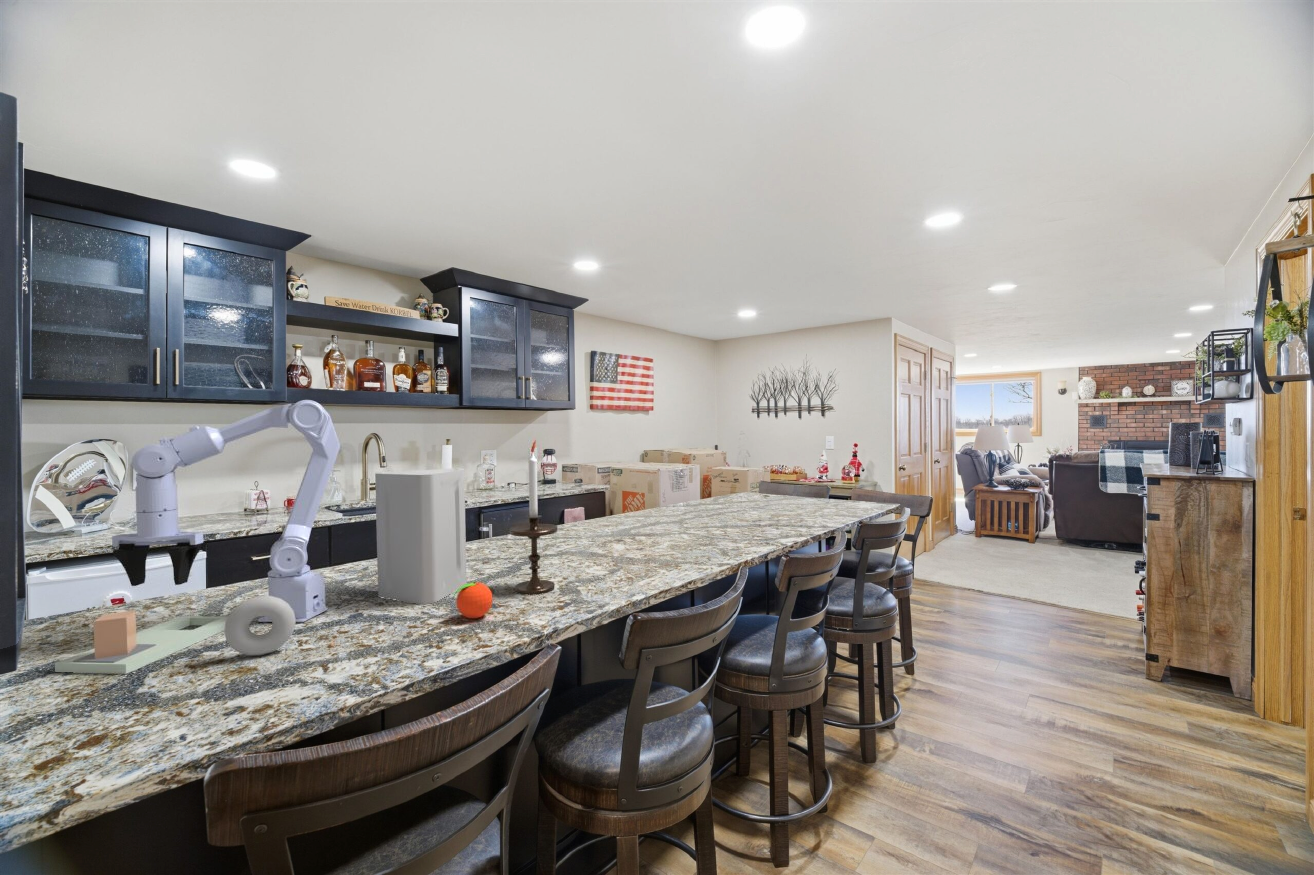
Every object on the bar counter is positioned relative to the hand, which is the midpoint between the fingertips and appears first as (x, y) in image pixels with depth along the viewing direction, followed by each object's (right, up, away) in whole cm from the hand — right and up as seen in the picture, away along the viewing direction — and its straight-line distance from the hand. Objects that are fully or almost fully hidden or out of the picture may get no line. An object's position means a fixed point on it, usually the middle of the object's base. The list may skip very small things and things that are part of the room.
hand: (159, 583), depth 104 cm
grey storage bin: (+39, -9, +25) cm, 47 cm away
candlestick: (+63, -9, +28) cm, 70 cm away
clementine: (+55, -9, +9) cm, 56 cm away
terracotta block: (+2, -8, -11) cm, 14 cm away
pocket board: (+3, -10, -4) cm, 11 cm away
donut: (+25, -10, -8) cm, 28 cm away
